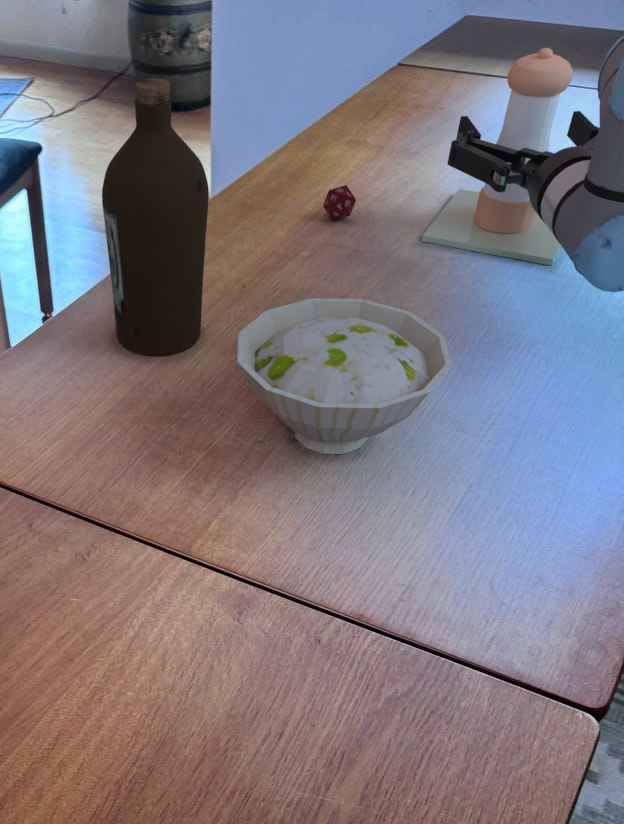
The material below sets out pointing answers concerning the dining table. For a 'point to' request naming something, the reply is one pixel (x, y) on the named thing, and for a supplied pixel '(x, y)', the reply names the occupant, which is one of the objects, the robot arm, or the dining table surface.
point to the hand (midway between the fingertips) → (517, 125)
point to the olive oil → (156, 230)
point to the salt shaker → (524, 135)
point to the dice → (339, 203)
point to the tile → (489, 233)
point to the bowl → (341, 368)
